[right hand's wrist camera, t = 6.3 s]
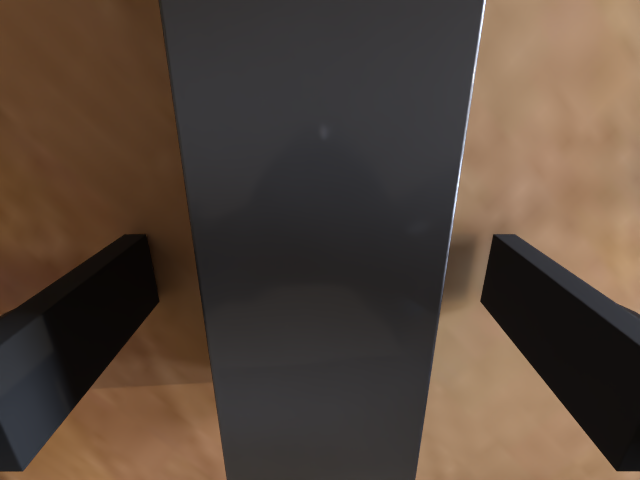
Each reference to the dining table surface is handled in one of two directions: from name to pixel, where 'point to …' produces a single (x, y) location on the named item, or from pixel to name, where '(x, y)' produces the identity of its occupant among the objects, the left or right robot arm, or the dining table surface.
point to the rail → (321, 218)
